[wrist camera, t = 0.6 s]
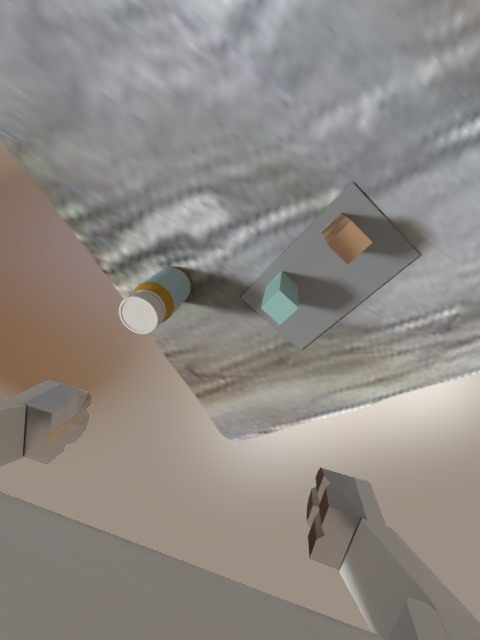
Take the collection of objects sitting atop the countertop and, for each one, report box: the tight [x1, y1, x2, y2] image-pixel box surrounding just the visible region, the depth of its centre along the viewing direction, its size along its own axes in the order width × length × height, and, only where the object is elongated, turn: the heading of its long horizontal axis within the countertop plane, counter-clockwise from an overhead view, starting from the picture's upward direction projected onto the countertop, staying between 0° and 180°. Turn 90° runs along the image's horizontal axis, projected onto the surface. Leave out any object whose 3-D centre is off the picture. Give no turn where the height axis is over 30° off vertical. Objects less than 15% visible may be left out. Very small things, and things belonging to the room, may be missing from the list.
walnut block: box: [321, 213, 373, 265], centre depth 42 cm, size 4×4×10 cm
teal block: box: [261, 271, 299, 325], centre depth 48 cm, size 4×4×10 cm
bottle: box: [119, 267, 191, 334], centre depth 49 cm, size 7×7×15 cm
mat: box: [240, 182, 420, 350], centre depth 50 cm, size 26×16×1 cm, turn 139°
